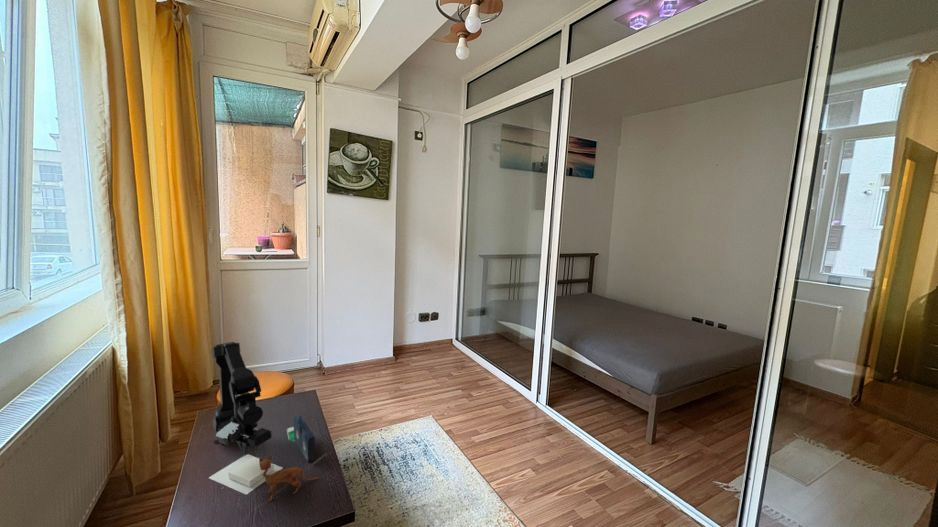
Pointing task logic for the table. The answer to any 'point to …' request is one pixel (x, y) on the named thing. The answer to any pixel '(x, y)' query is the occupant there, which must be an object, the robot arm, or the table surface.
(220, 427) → the robot arm
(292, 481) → the cat figurine
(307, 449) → the vhs cassette tape
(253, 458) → the tile
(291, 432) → the smartphone
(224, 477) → the mat
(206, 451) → the table surface
